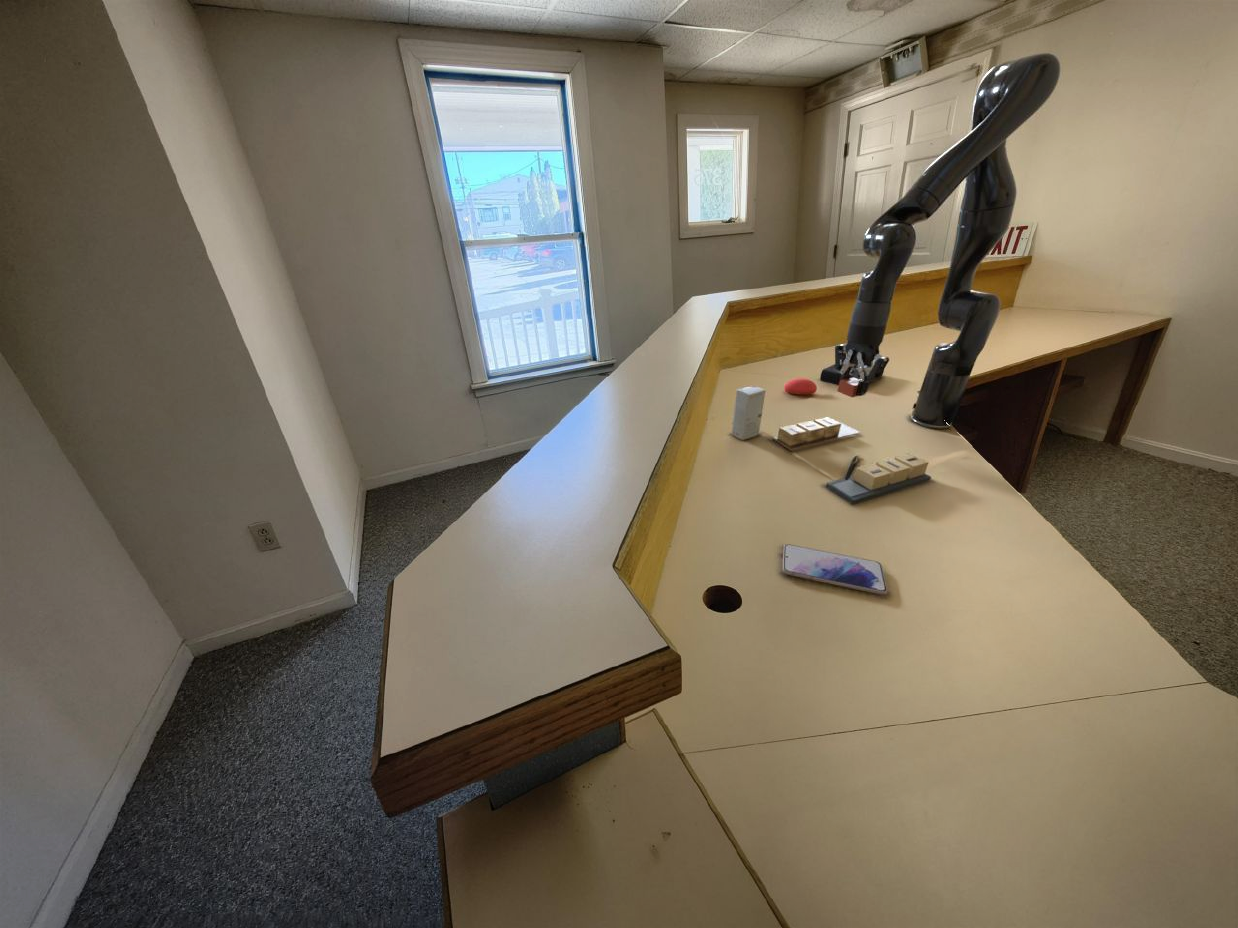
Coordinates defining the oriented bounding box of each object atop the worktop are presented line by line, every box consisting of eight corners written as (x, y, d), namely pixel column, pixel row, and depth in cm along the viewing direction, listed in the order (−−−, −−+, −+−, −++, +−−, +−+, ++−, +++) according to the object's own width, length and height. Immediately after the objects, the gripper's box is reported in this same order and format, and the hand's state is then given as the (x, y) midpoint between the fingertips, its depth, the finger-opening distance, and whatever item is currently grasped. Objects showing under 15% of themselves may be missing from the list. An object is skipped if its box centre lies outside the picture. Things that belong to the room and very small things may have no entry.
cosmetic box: (743, 440, 113) (749, 395, 107) (730, 434, 117) (735, 389, 111) (759, 434, 116) (767, 389, 110) (746, 428, 120) (753, 384, 114)
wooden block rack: (900, 465, 102) (906, 449, 100) (929, 480, 96) (936, 464, 94) (825, 487, 94) (829, 470, 92) (852, 504, 89) (857, 486, 87)
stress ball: (809, 403, 138) (821, 385, 136) (782, 389, 139) (794, 371, 137) (807, 403, 142) (818, 385, 141) (781, 389, 144) (792, 371, 142)
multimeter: (818, 380, 152) (822, 365, 149) (844, 368, 163) (847, 354, 160) (858, 390, 143) (862, 375, 141) (882, 376, 154) (887, 362, 152)
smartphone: (888, 593, 67) (782, 570, 71) (886, 597, 68) (781, 575, 72) (881, 561, 73) (784, 542, 77) (879, 565, 73) (783, 546, 78)
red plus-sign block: (850, 388, 114) (853, 376, 113) (865, 394, 111) (868, 382, 109) (837, 391, 113) (839, 379, 111) (851, 397, 109) (854, 385, 108)
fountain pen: (846, 486, 94) (848, 480, 93) (840, 485, 95) (842, 479, 94) (859, 458, 104) (861, 453, 103) (854, 457, 105) (855, 451, 104)
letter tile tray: (838, 425, 121) (841, 411, 119) (859, 435, 115) (863, 421, 113) (771, 440, 113) (774, 425, 111) (790, 452, 108) (794, 436, 106)
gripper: (908, 325, 99) (887, 399, 107) (855, 313, 110) (840, 381, 119) (883, 329, 96) (863, 404, 105) (832, 316, 108) (818, 385, 116)
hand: (851, 391), depth 112 cm, fingers closed on red plus-sign block, 4 cm apart
